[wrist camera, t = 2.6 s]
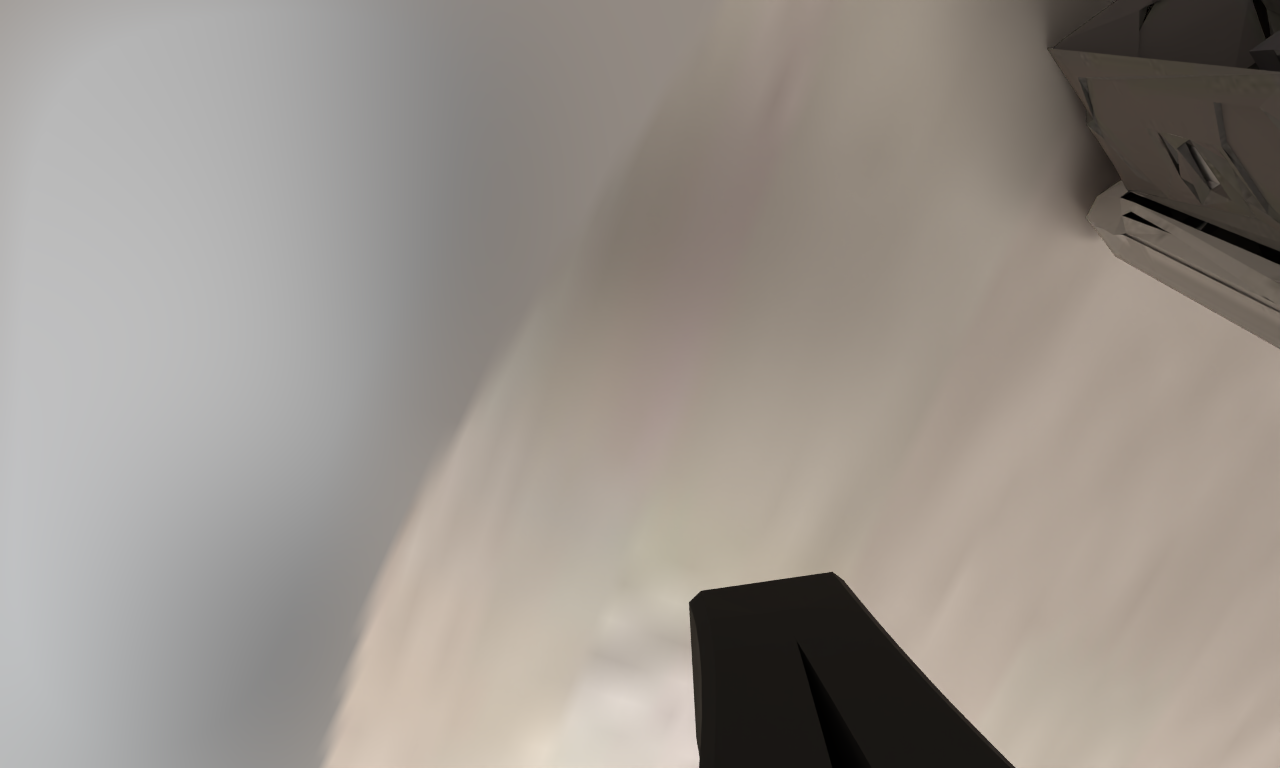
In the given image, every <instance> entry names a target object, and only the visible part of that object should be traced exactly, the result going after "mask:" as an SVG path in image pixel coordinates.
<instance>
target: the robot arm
mask: <svg viewBox="0 0 1280 768" xmlns="http://www.w3.org/2000/svg"><path fill="white" fill-rule="evenodd" d="M689 610H690V628H691V647H692V665H693V684H694V702H695V721H696V739H697V744H698V750H699V756H700V763H699V768H1015V767H1014V766H1013V765H1012V764H1011V763H1010V762H1009V761H1008V760H1007V759H1006V758H1005V757H1004V756H1003V755H1002V754H1001V753H1000V752H999V751H998V750H997V749H996V748H995V747H994V746H993V745H992V744H991V743H990V742H989V741H988V740H987V739H986V738H985V737H984V736H983V735H982V734H981V733H980V732H979V731H978V730H977V729H976V728H975V727H974V726H973V725H972V724H971V723H970V722H969V721H968V720H967V719H966V718H965V717H964V715H963V714H962V713H961V712H960V711H959V710H958V709H957V708H956V707H955V706H954V705H953V704H952V703H951V702H950V701H949V700H948V699H947V698H946V697H945V696H944V695H943V694H942V693H941V692H940V690H939V689H938V688H937V687H936V686H935V685H934V684H933V683H932V682H931V681H930V680H929V679H928V678H927V676H926V675H925V674H924V673H923V672H922V671H921V670H920V669H919V668H918V667H917V665H916V664H915V663H914V662H913V661H912V660H911V659H910V658H909V657H908V655H907V654H906V653H905V652H904V651H903V650H902V649H901V648H900V647H899V645H898V644H897V643H896V642H895V641H894V640H893V639H892V637H891V636H890V635H889V634H888V633H887V632H886V631H885V629H884V628H883V627H882V626H881V625H880V624H879V622H878V621H877V620H876V619H875V618H874V617H873V615H872V614H871V613H870V612H869V611H868V609H867V608H866V607H865V606H864V605H863V603H862V602H861V601H860V600H859V599H858V597H857V596H856V595H855V594H854V593H853V591H852V590H851V589H850V588H849V586H848V585H847V584H846V583H845V581H844V580H842V579H841V578H840V577H838V576H837V575H836V574H834V573H833V572H829V573H822V574H815V575H808V576H801V577H794V578H787V579H780V580H773V581H766V582H759V583H752V584H746V585H739V586H732V587H725V588H718V589H711V590H704V591H701V592H699V593H698V594H697V595H696V596H695V597H694V598H693V599H692V600H691V601H690V602H689Z"/></svg>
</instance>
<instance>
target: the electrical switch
mask: <svg viewBox="0 0 1280 768" xmlns="http://www.w3.org/2000/svg"><path fill="white" fill-rule="evenodd" d="M1261 1H1262V2H1263V4H1264V5H1265V7H1266V8H1267V15H1268V21H1269V27H1270V34H1271V36H1270V37H1269V38H1267V39H1265V36H1264V33H1263V30H1262V27H1261V24H1260V22H1259V19H1258V16H1257V13H1256V10H1255V7H1254V4H1253V1H1252V0H1117V1H1115V2H1114V3H1113V4H1111V5H1110V6H1108V7H1107V8H1106V9H1104V10H1103V11H1102V12H1100V13H1099V14H1097V15H1096V16H1095V17H1093V18H1092V19H1091V20H1089V21H1088V22H1086V23H1085V24H1084V25H1082V26H1081V27H1080V28H1078V29H1077V30H1075V31H1074V32H1073V33H1071V34H1070V35H1069V36H1067V37H1066V38H1064V39H1063V40H1062V41H1061V42H1059V43H1058V44H1057V45H1056V46H1055V47H1054V48H1053V49H1050V48H1047V49H1048V51H1049V52H1050V54H1051V55H1052V57H1053V58H1054V60H1055V61H1056V63H1057V64H1058V66H1059V67H1060V69H1061V71H1062V72H1063V74H1064V75H1065V77H1066V78H1067V80H1068V81H1069V83H1070V84H1071V86H1072V87H1073V89H1074V91H1075V92H1076V94H1077V95H1078V97H1079V98H1080V100H1081V101H1082V103H1083V104H1084V106H1085V108H1086V125H1087V126H1088V127H1089V129H1090V130H1091V132H1092V133H1093V134H1094V136H1095V137H1096V139H1097V140H1098V142H1099V143H1100V145H1101V146H1102V148H1103V149H1104V151H1105V152H1106V154H1107V155H1108V157H1109V158H1110V160H1111V161H1112V163H1113V165H1114V166H1115V168H1116V170H1117V172H1118V174H1119V176H1120V178H1121V180H1120V181H1119V182H1117V183H1116V184H1114V185H1113V186H1111V187H1110V188H1109V189H1107V190H1106V191H1104V192H1103V193H1101V194H1100V195H1098V196H1097V197H1096V199H1095V201H1094V203H1093V205H1092V207H1091V209H1090V211H1089V213H1088V214H1087V216H1086V219H1087V220H1088V221H1089V222H1090V224H1091V225H1092V226H1093V227H1094V229H1095V230H1096V231H1097V233H1098V234H1099V235H1100V237H1101V238H1102V239H1103V241H1104V242H1105V243H1106V245H1107V246H1108V247H1109V249H1110V250H1111V251H1112V253H1113V254H1114V255H1115V257H1117V258H1119V259H1121V260H1123V261H1124V262H1126V263H1128V264H1130V265H1131V266H1133V267H1135V268H1137V269H1139V270H1140V271H1142V272H1144V273H1146V274H1147V275H1149V276H1151V277H1153V278H1155V279H1156V280H1158V281H1160V282H1162V283H1164V284H1165V285H1167V286H1169V287H1171V288H1172V289H1174V290H1176V291H1178V292H1180V293H1181V294H1183V295H1185V296H1187V297H1188V298H1190V299H1192V300H1194V301H1196V302H1197V303H1199V304H1201V305H1203V306H1204V307H1206V308H1208V309H1210V310H1212V311H1213V312H1215V313H1217V314H1219V315H1220V316H1222V317H1224V318H1226V319H1228V320H1229V321H1231V322H1233V323H1235V324H1236V325H1238V326H1240V327H1242V328H1244V329H1245V330H1247V331H1249V332H1251V333H1252V334H1254V335H1256V336H1258V337H1260V338H1261V339H1263V340H1265V341H1267V342H1268V343H1270V344H1272V345H1274V346H1276V347H1277V348H1279V349H1280V0H1261ZM1153 3H1154V5H1153V7H1152V9H1151V11H1150V12H1149V14H1148V16H1147V18H1146V20H1145V21H1144V17H1145V14H1146V10H1147V7H1148V6H1149V5H1151V4H1153ZM1143 21H1144V23H1143ZM1142 24H1143V25H1142Z"/></svg>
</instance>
